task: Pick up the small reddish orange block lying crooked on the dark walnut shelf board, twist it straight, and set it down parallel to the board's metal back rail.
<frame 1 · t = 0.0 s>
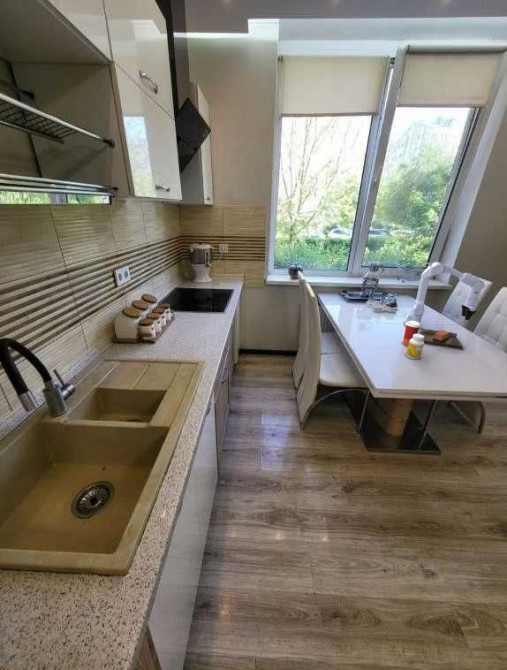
hand: (465, 318, 181), 10 cm above the table, tool pointing down, fingers open, 7 cm apart
supplement bottle: (412, 356, 153), on the table
shelf board: (439, 341, 171), on the table
reddish orange block: (440, 339, 169), point 2 cm above the table, touching shelf board
paper cup: (407, 344, 167), on the table
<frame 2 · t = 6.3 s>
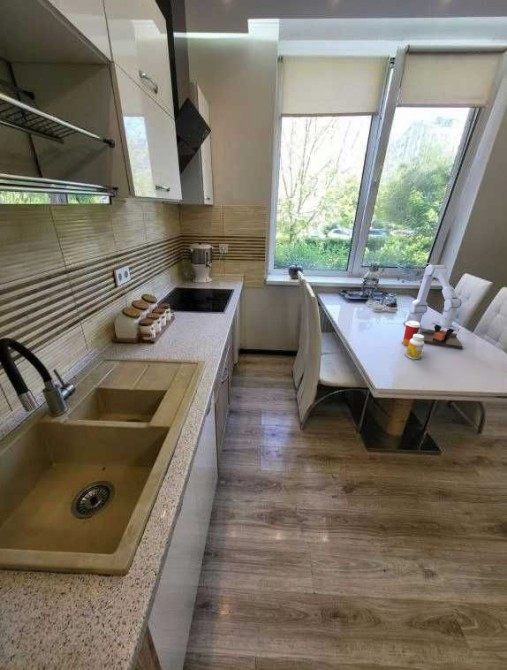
hand: (441, 338, 169), 2 cm above the table, tool pointing down, fingers closed on reddish orange block, 4 cm apart
reddish orange block: (440, 339, 169), point 2 cm above the table, touching gripper, shelf board
everything else where it was.
when the fingers open (3 cm above the table, at t = 11.3 s): reddish orange block stays where it is, resting on shelf board.
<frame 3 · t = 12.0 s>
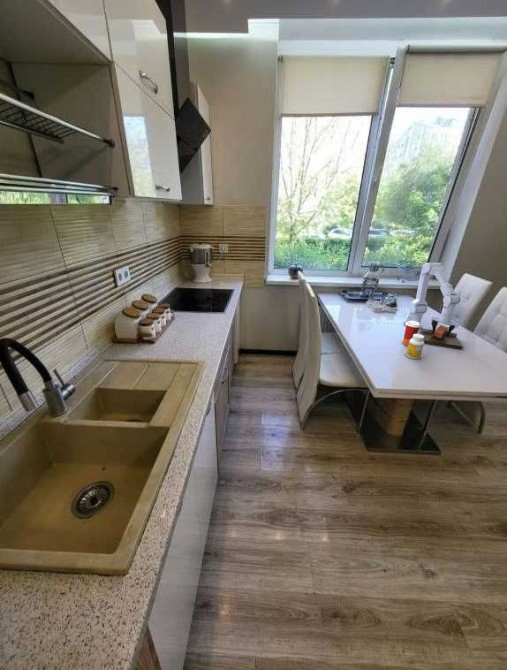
hand: (440, 334, 172), 4 cm above the table, tool pointing down, fingers open, 7 cm apart
reddish orange block: (440, 334, 172), point 3 cm above the table, tilted 12°, touching shelf board
everything else where it was.
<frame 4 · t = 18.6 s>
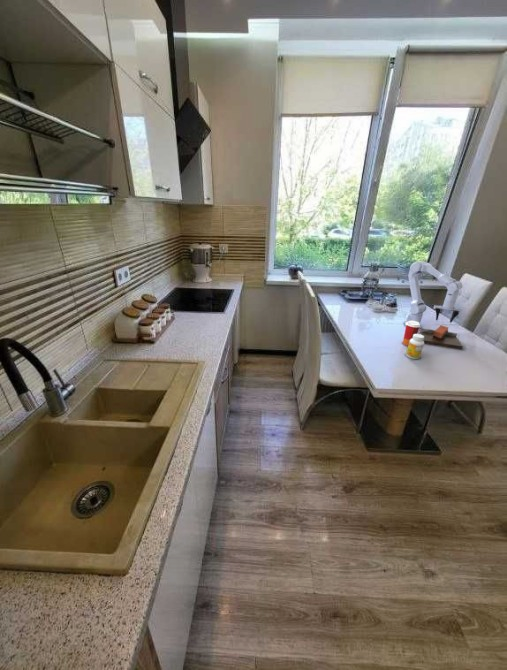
hand: (443, 321, 177), 9 cm above the table, tool pointing down, fingers open, 7 cm apart
nothing on the table moved.
at the end: reddish orange block 0.1 cm from the target spot, point 3.2 cm above the table; reddish orange block tilted 12°; the gripper is holding nothing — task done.
